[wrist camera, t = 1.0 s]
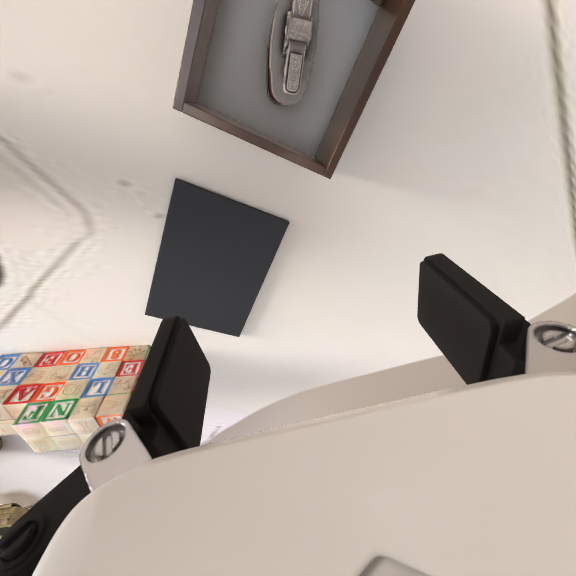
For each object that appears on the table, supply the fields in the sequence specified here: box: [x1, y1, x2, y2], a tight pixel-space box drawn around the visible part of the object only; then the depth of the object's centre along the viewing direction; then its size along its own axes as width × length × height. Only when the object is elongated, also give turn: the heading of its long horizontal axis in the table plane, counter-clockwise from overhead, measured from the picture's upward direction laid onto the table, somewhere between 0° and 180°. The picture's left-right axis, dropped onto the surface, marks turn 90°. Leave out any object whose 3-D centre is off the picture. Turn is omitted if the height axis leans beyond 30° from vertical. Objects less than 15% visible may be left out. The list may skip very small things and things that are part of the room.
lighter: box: [266, 0, 319, 105], centre depth 24 cm, size 8×3×10 cm, turn 171°
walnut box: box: [173, 0, 415, 179], centre depth 25 cm, size 15×16×6 cm
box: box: [0, 503, 31, 537], centre depth 66 cm, size 8×22×5 cm, turn 9°
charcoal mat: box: [145, 178, 289, 337], centre depth 39 cm, size 14×20×1 cm
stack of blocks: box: [0, 346, 151, 453], centre depth 41 cm, size 21×6×12 cm, turn 89°
